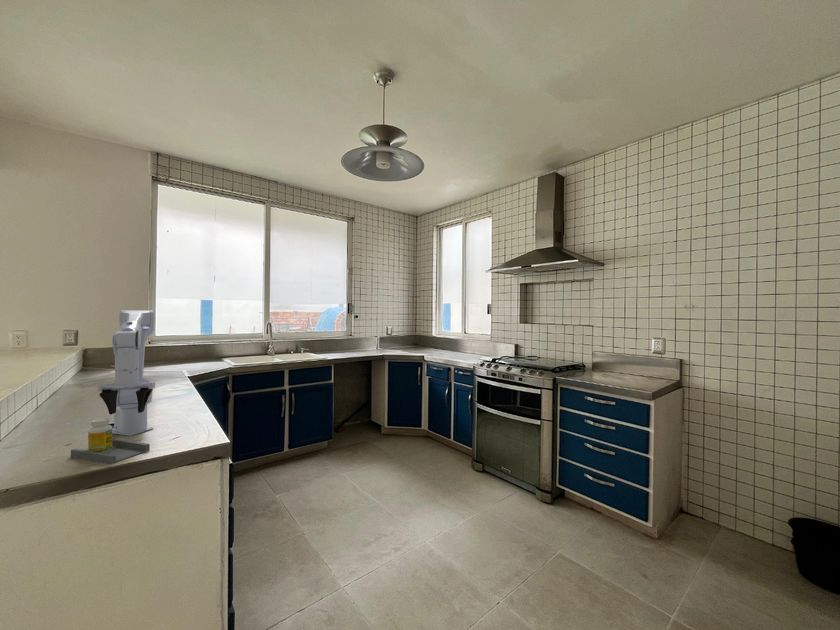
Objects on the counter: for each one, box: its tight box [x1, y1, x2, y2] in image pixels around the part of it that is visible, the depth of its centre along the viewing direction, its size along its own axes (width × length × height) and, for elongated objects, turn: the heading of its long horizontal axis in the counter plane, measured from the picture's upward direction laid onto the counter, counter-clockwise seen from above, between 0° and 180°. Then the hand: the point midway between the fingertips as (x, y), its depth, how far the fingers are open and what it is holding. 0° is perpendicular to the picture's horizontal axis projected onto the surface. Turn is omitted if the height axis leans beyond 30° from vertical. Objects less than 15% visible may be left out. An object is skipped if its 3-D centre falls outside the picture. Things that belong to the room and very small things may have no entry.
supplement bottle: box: [87, 417, 113, 453], centre depth 104 cm, size 5×5×10 cm
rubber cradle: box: [70, 437, 151, 465], centre depth 103 cm, size 17×10×2 cm, turn 73°
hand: (127, 412), depth 109 cm, fingers open, 7 cm apart
